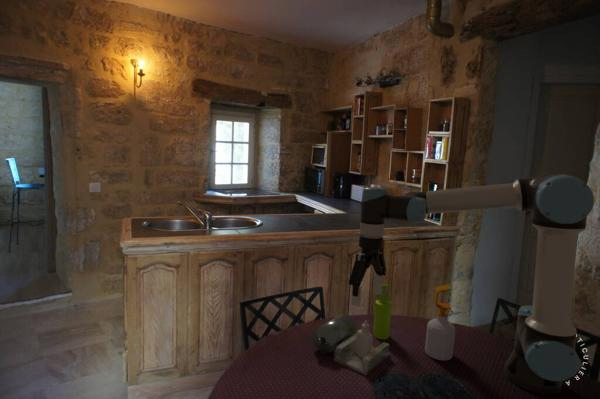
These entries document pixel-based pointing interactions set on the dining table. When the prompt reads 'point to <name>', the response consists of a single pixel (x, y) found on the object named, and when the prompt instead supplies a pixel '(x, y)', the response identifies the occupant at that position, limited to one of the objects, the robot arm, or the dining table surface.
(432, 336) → the soap bottle
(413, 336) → the dining table surface
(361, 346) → the eye dropper bottle
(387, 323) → the soap dispenser
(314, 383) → the dining table surface
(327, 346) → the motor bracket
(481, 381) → the dining table surface
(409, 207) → the robot arm
